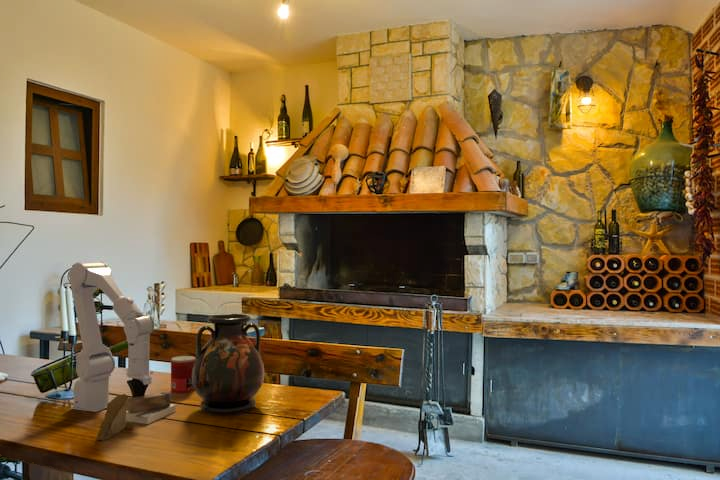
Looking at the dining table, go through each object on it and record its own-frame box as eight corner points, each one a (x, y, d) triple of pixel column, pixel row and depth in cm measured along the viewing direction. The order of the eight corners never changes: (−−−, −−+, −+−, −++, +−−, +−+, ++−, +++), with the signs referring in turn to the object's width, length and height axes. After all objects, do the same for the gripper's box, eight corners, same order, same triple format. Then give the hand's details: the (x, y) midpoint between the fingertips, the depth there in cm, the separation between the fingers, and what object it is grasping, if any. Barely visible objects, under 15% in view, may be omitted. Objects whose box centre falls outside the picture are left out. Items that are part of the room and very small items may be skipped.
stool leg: (168, 402, 162) (168, 391, 162) (172, 405, 160) (172, 393, 160) (127, 410, 154) (127, 398, 154) (130, 413, 152) (130, 400, 152)
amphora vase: (196, 423, 151) (197, 323, 151) (187, 402, 170) (188, 313, 171) (272, 414, 160) (273, 319, 160) (255, 395, 179) (255, 310, 179)
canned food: (191, 393, 180) (191, 360, 180) (167, 393, 180) (167, 360, 181) (198, 387, 188) (198, 355, 188) (175, 387, 188) (175, 355, 188)
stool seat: (108, 419, 153) (108, 412, 154) (139, 406, 166) (139, 400, 166) (146, 424, 149) (146, 417, 149) (175, 411, 162) (175, 404, 162)
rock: (107, 435, 135) (141, 419, 143) (91, 405, 137) (126, 391, 145) (89, 453, 140) (123, 436, 148) (74, 424, 142) (108, 409, 150)
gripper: (162, 359, 155) (161, 407, 155) (143, 351, 166) (143, 396, 166) (137, 363, 150) (136, 412, 150) (119, 354, 161) (118, 400, 161)
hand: (138, 404), depth 158 cm, fingers closed
